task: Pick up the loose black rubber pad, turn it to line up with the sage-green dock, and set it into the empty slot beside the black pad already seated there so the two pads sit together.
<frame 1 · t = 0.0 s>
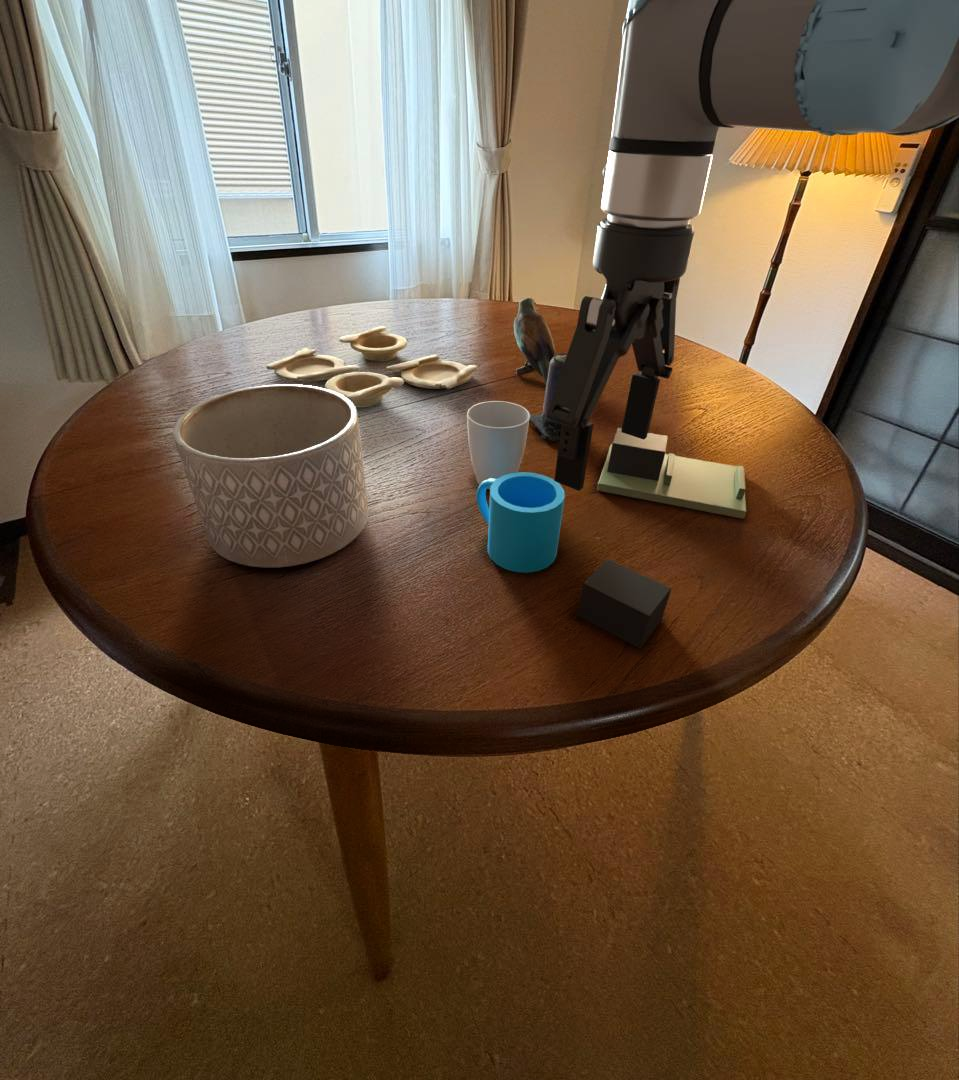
hand: (603, 458, 57), 13 cm above the table, tool pointing down, fingers open, 13 cm apart
bird figurine: (540, 377, 110), on the table
tableware set: (373, 376, 108), on the table
cup: (495, 481, 78), on the table
dock: (670, 482, 79), on the table
dark cylinder on base: (551, 429, 92), on the table
planter: (292, 528, 68), on the table
mug: (510, 543, 67), on the table
pad: (619, 618, 57), on the table
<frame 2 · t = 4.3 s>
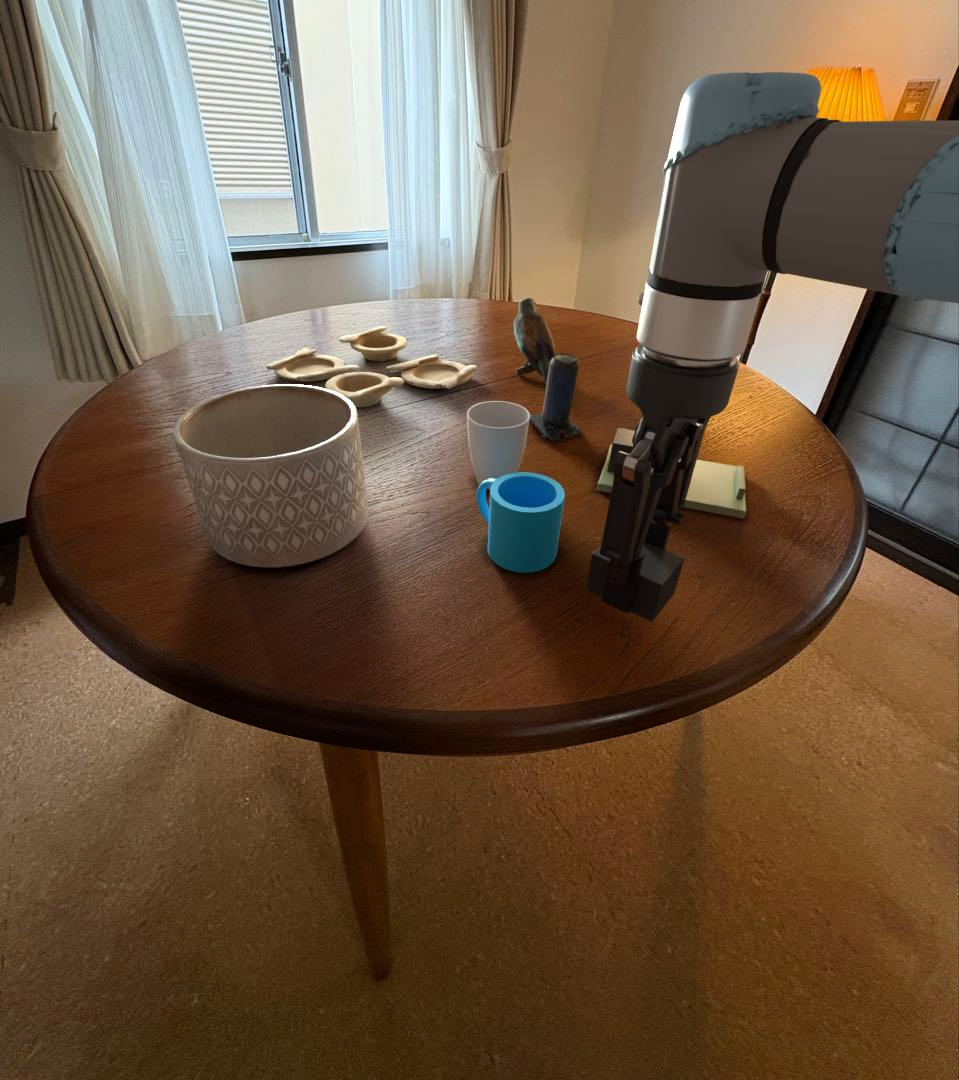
hand: (630, 589, 55), 4 cm above the table, tool pointing down, fingers closed on pad, 5 cm apart
pad: (629, 592, 55), point 4 cm above the table, touching gripper
everything else where it was.
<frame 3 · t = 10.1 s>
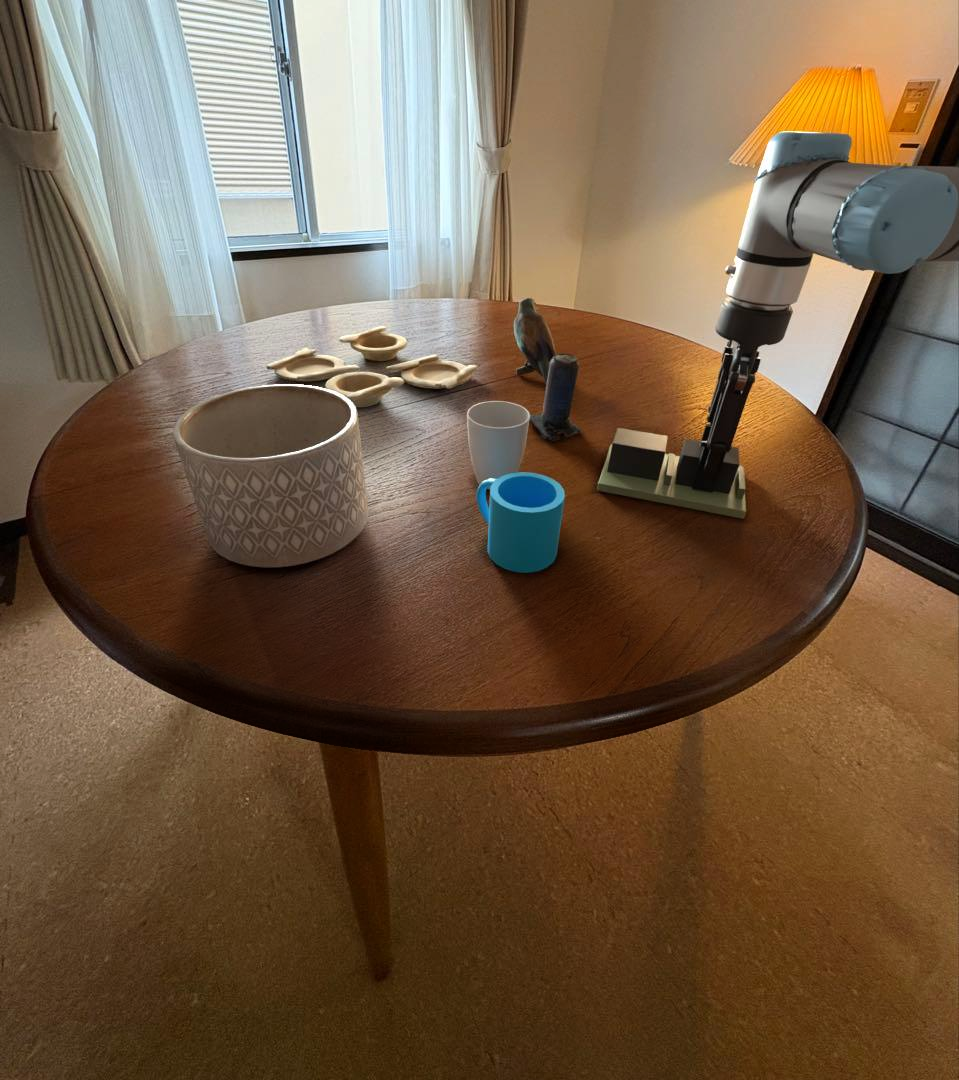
hand: (702, 478, 77), 2 cm above the table, tool pointing down, fingers closed on pad, 5 cm apart
pad: (702, 480, 77), point 1 cm above the table, touching dock, gripper
everything else where it was.
when the fingers open (2 cm above the table, at t = 10.2 s): pad stays where it is, resting on dock.
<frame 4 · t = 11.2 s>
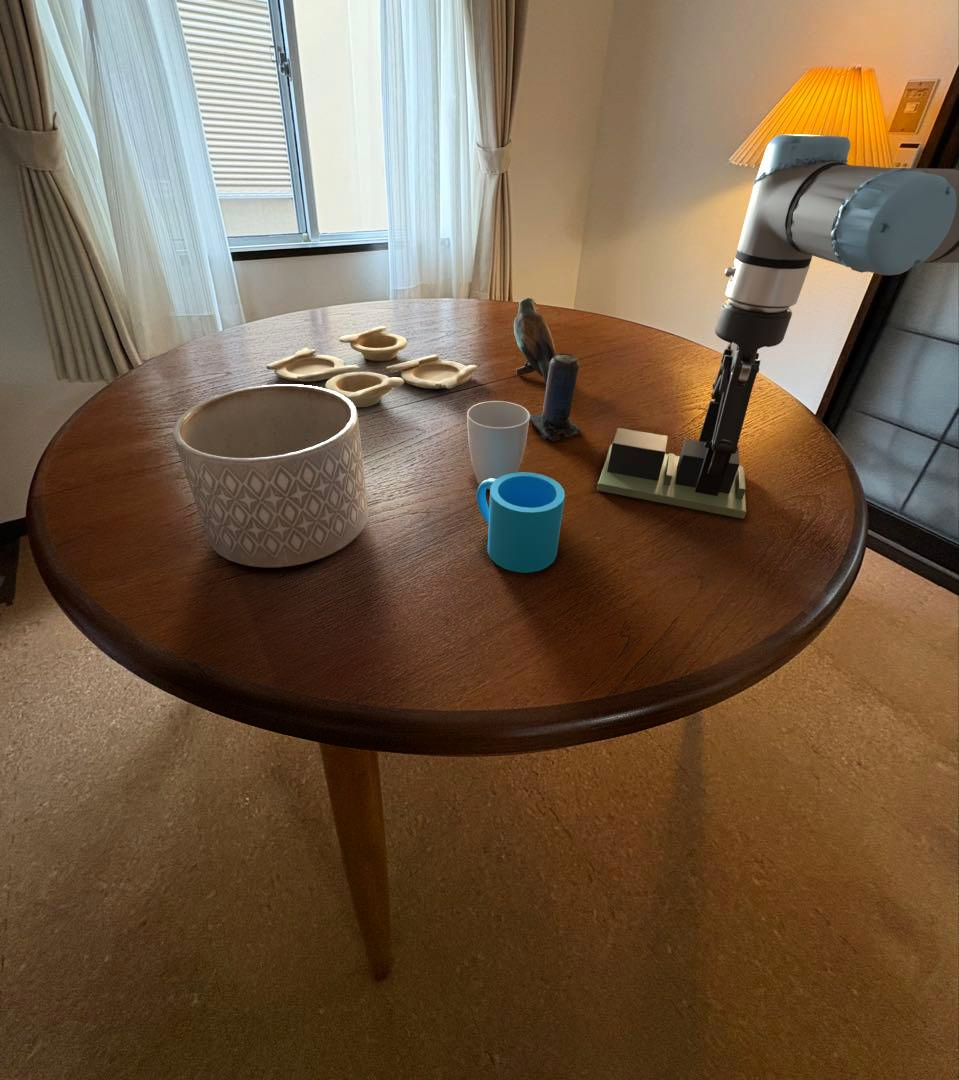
hand: (706, 467, 76), 3 cm above the table, tool pointing down, fingers open, 13 cm apart
pad: (702, 480, 77), point 1 cm above the table, touching dock
everything else where it was.
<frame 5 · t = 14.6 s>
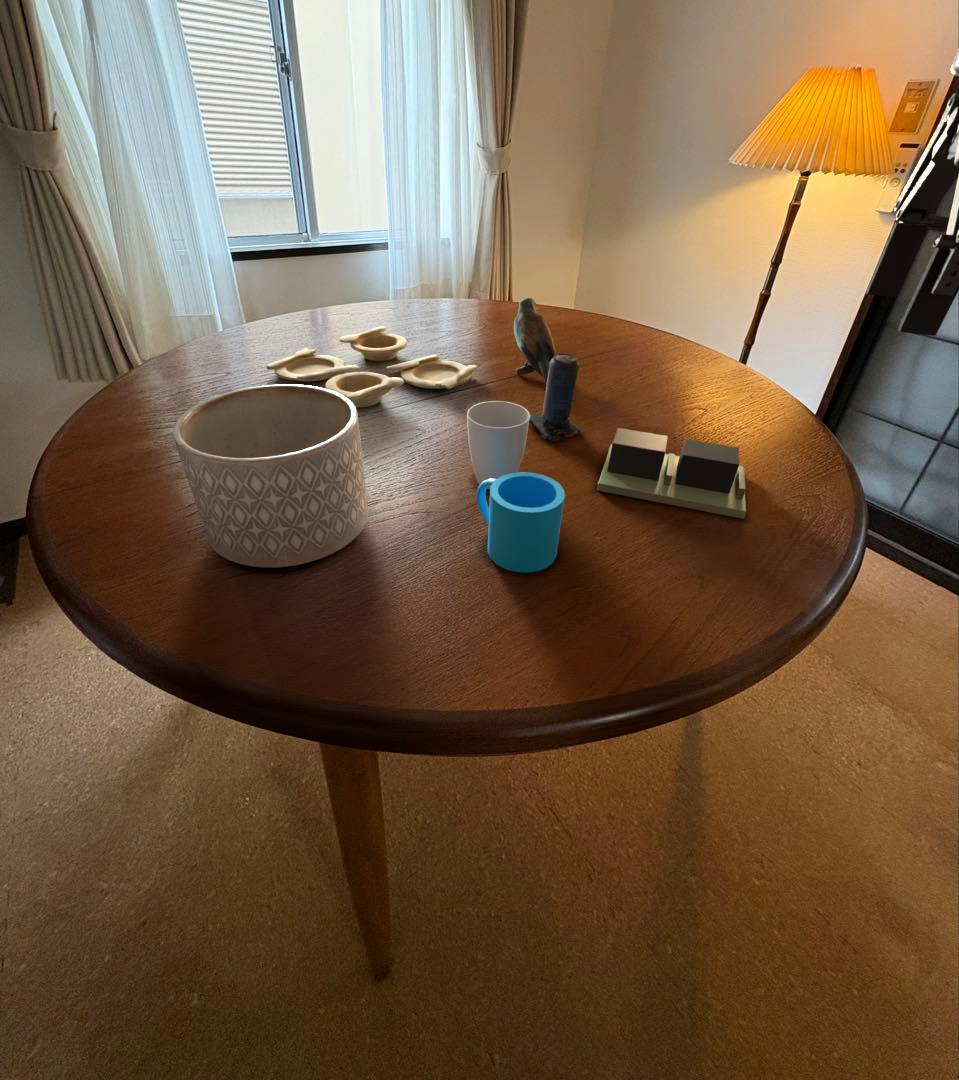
hand: (896, 312, 53), 27 cm above the table, tool pointing down, fingers open, 13 cm apart
nothing on the table moved.
at the end: pad 0.1 cm from the target spot on the dock, point 1.2 cm above the dock's base; pad tilted 0°; the gripper is holding nothing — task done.
